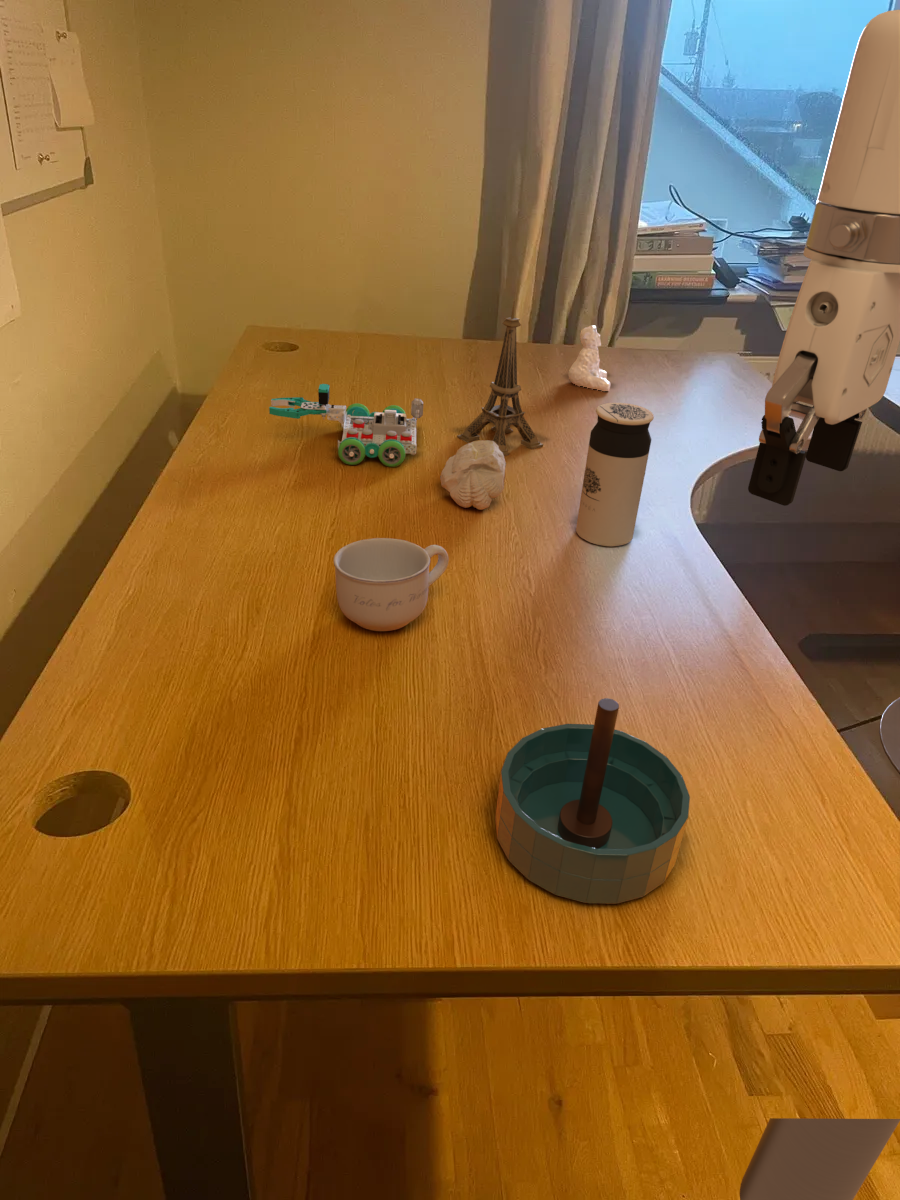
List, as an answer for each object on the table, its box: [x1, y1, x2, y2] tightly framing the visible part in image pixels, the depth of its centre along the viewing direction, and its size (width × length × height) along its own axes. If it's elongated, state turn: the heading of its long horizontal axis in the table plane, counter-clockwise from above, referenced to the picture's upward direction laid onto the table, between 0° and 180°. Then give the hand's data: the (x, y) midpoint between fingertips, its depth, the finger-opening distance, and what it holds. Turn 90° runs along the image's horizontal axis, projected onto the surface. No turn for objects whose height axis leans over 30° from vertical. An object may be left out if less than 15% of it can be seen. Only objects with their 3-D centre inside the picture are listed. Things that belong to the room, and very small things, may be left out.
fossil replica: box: [439, 439, 507, 511], centre depth 130 cm, size 12×8×10 cm
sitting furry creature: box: [567, 324, 612, 392], centre depth 181 cm, size 10×9×12 cm
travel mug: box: [575, 402, 655, 547], centre depth 120 cm, size 8×8×18 cm
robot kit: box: [268, 383, 424, 468], centre depth 145 cm, size 19×25×9 cm
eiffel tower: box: [456, 293, 544, 457], centre depth 147 cm, size 11×11×25 cm
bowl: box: [494, 723, 691, 905], centre depth 74 cm, size 15×15×6 cm
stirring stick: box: [558, 697, 620, 849], centre depth 72 cm, size 4×4×14 cm
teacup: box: [333, 537, 449, 632], centre depth 101 cm, size 14×11×8 cm
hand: (798, 481), depth 67 cm, fingers open, 9 cm apart
